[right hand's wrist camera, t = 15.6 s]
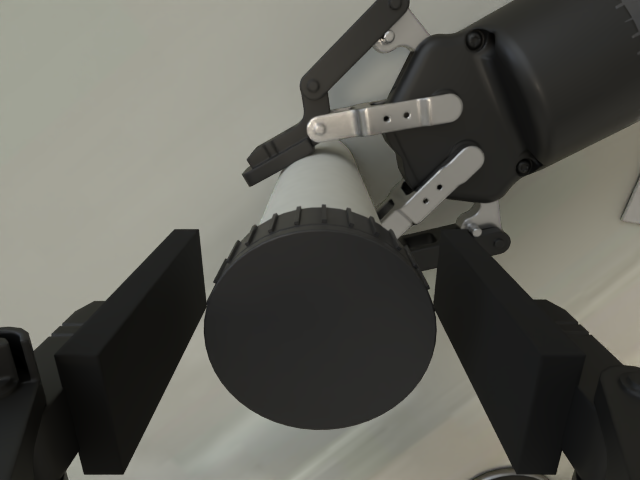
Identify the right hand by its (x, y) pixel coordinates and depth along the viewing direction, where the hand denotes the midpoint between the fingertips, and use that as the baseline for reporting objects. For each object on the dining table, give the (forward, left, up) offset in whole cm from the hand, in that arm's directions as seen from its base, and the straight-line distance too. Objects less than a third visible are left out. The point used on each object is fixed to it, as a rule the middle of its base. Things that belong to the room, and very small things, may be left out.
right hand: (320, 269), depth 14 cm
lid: (0, 0, +4) cm, 4 cm away
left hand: (-2, +2, -9) cm, 9 cm away
